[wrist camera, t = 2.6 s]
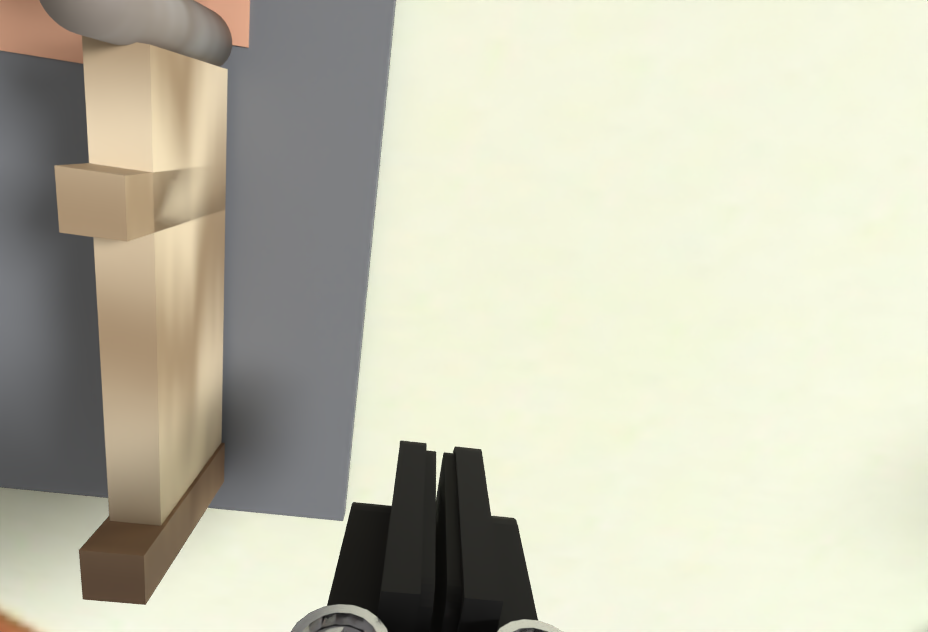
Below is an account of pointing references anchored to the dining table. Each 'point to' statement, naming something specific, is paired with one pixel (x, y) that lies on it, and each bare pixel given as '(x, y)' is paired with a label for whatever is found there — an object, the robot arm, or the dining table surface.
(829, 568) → the dining table surface
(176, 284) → the panel
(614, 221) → the dining table surface
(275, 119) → the mat
